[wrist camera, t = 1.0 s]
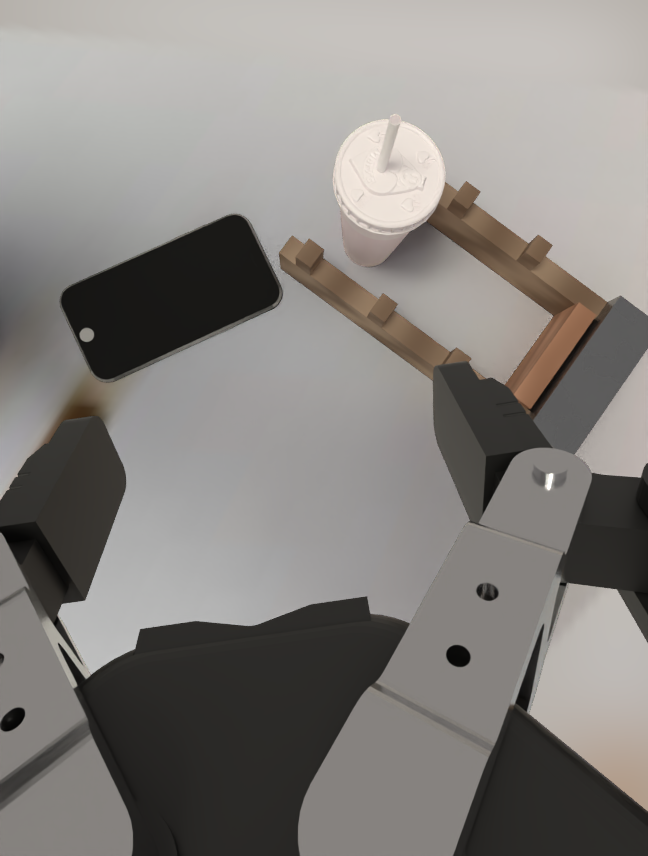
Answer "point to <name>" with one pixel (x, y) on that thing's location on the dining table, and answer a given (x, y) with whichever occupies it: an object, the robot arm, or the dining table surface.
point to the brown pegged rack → (497, 252)
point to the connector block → (591, 375)
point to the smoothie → (385, 186)
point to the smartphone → (170, 297)
